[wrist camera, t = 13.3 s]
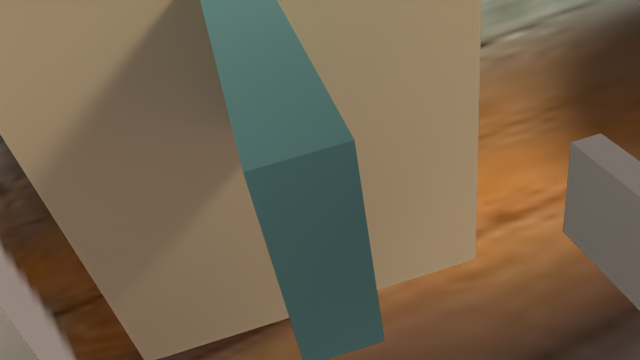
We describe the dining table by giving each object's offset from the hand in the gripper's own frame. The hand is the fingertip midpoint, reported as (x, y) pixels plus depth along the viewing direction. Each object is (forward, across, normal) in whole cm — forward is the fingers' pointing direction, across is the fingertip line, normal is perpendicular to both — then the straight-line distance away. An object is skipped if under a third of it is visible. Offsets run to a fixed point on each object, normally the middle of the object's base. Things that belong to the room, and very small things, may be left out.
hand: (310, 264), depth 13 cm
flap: (+11, 0, -3) cm, 12 cm away
